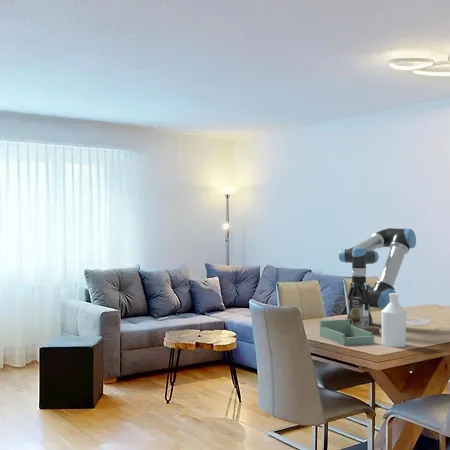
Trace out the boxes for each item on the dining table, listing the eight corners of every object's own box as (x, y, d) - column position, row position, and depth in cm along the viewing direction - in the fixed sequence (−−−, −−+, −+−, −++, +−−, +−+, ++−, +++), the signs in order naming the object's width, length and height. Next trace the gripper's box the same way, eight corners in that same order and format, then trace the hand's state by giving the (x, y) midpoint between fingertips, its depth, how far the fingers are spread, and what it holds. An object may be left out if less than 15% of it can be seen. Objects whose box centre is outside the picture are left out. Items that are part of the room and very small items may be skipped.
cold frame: (319, 335, 312) (319, 320, 312) (348, 334, 317) (348, 319, 317) (343, 345, 288) (343, 328, 288) (374, 343, 293) (374, 327, 293)
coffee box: (348, 326, 326) (348, 297, 326) (355, 325, 330) (356, 296, 330) (361, 328, 319) (362, 298, 319) (369, 327, 323) (369, 297, 323)
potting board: (338, 329, 330) (338, 325, 330) (363, 328, 335) (363, 323, 335) (353, 334, 315) (353, 330, 315) (379, 333, 320) (379, 328, 320)
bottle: (395, 348, 283) (396, 295, 283) (375, 343, 293) (376, 293, 292) (411, 345, 290) (411, 294, 290) (391, 341, 299) (391, 291, 299)
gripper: (341, 273, 336) (341, 311, 336) (365, 278, 312) (365, 318, 312) (353, 273, 338) (352, 310, 338) (377, 277, 314) (377, 317, 315)
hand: (358, 314), depth 325 cm, fingers open, 13 cm apart
